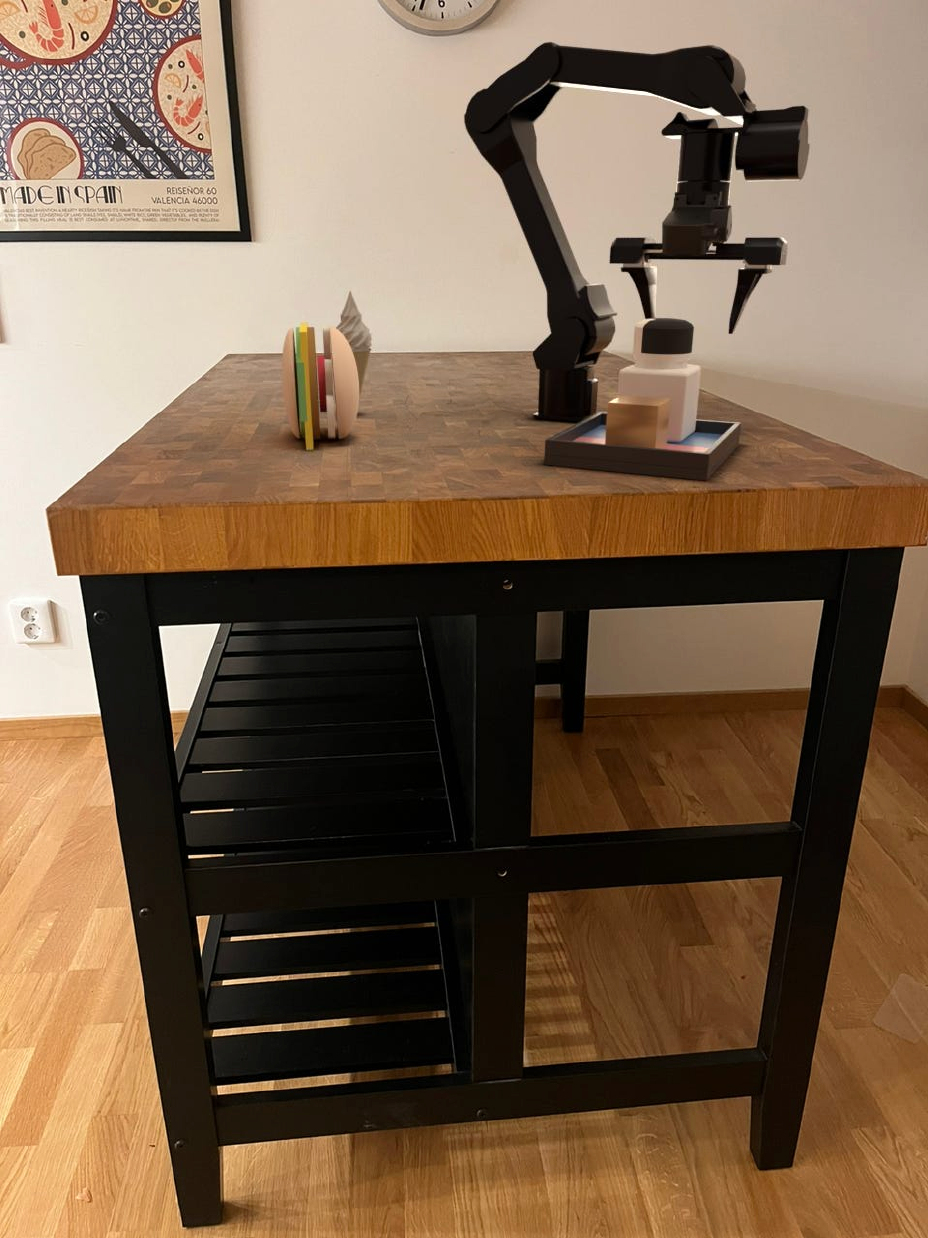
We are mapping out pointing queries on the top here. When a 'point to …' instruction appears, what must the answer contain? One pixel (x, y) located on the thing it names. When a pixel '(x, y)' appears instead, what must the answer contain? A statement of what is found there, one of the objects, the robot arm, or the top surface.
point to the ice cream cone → (356, 337)
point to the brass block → (638, 421)
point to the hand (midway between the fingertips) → (690, 332)
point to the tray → (644, 450)
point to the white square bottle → (665, 371)
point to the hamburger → (304, 385)
